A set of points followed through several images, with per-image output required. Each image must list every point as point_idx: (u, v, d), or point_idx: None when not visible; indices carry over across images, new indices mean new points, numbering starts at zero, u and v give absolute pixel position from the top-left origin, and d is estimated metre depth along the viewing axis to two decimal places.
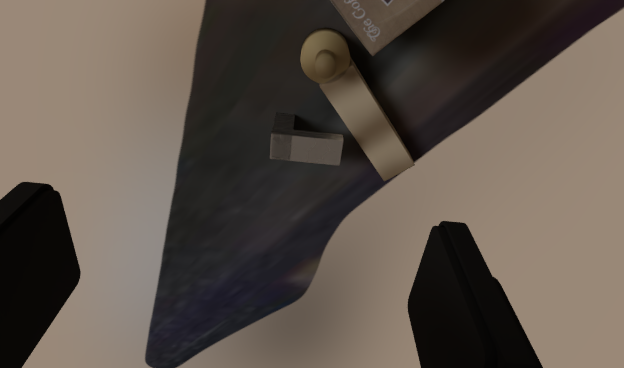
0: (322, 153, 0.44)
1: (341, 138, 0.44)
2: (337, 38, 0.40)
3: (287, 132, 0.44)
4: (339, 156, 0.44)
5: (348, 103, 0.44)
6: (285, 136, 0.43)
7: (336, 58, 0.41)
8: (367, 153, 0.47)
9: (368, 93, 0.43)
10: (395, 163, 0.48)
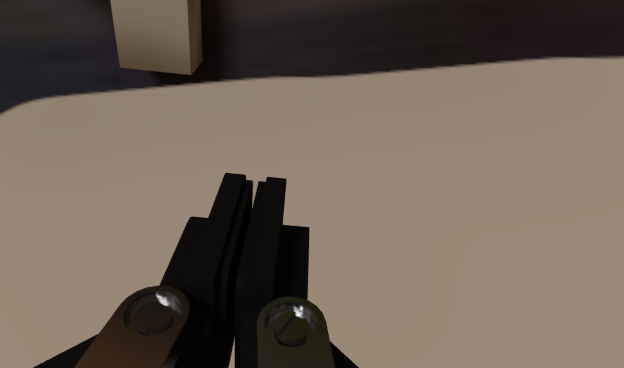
0: None
1: None
2: None
3: None
4: None
5: None
6: None
7: None
8: None
9: None
10: (157, 45, 0.23)
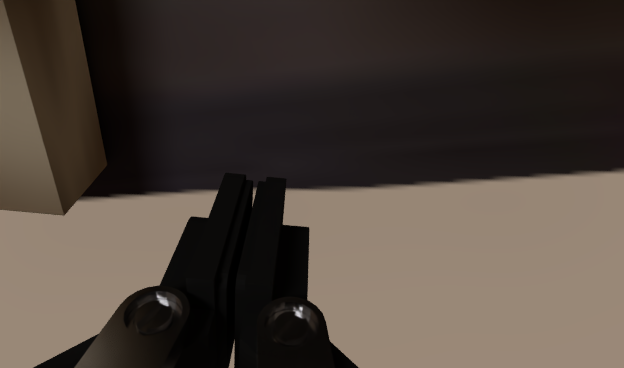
0: None
1: None
2: None
3: None
4: None
5: None
6: None
7: None
8: None
9: None
10: None
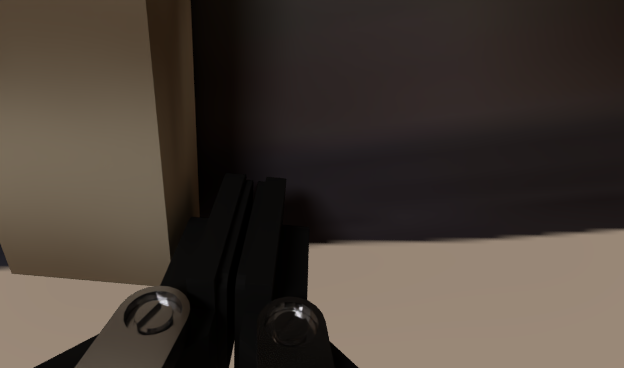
0: None
1: None
2: None
3: None
4: None
5: None
6: None
7: None
8: None
9: None
10: (93, 236, 0.10)
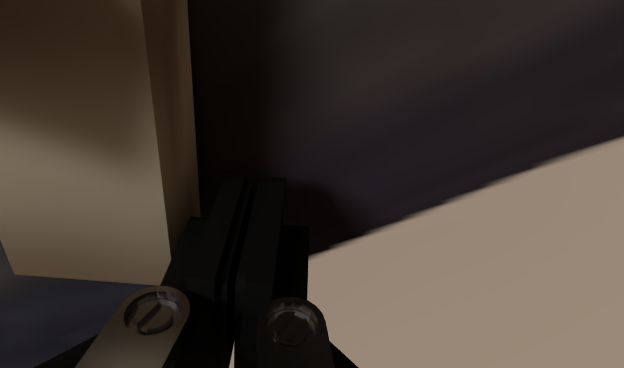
0: None
1: None
2: None
3: None
4: None
5: None
6: None
7: None
8: None
9: None
10: (93, 235, 0.10)
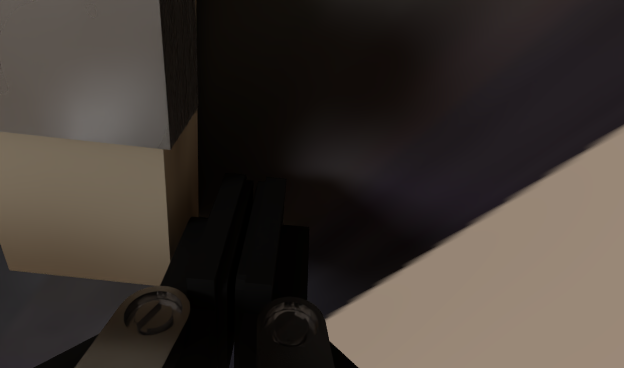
0: None
1: None
2: None
3: None
4: (151, 64, 0.05)
5: None
6: None
7: None
8: None
9: None
10: (93, 234, 0.10)
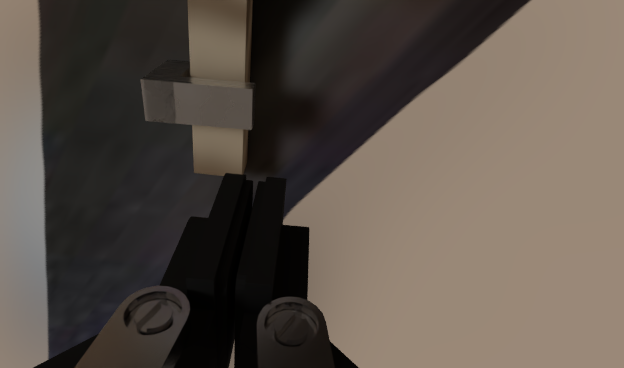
0: (223, 110, 0.29)
1: (251, 86, 0.29)
2: None
3: (168, 78, 0.29)
4: (250, 115, 0.29)
5: (210, 43, 0.29)
6: (163, 83, 0.28)
7: None
8: None
9: (243, 50, 0.29)
10: (221, 159, 0.34)
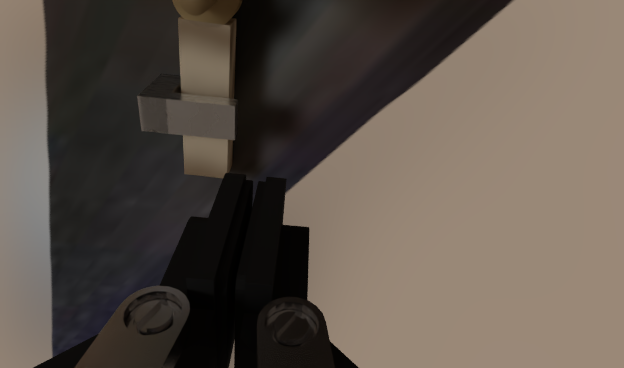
0: (210, 123, 0.33)
1: (233, 103, 0.33)
2: None
3: (161, 94, 0.33)
4: (232, 127, 0.33)
5: (198, 63, 0.33)
6: (157, 100, 0.32)
7: (217, 3, 0.31)
8: None
9: (227, 69, 0.34)
10: (208, 163, 0.38)
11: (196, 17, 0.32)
